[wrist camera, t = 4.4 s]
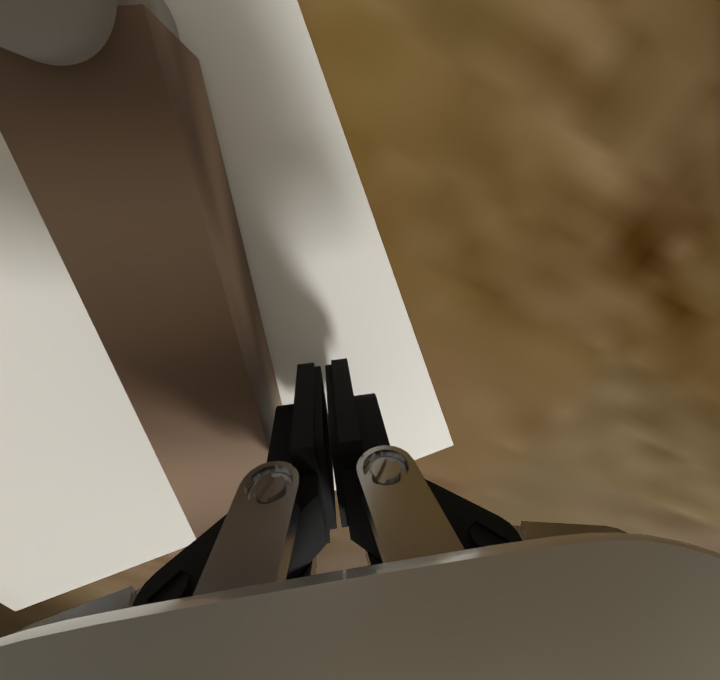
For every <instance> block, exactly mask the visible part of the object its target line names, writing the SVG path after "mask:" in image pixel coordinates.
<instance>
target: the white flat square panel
mask: <svg viewBox="0 0 720 680" xmlns="http://www.w3.org/2000/svg"><path fill="white" fill-rule="evenodd" d="M163 1H164V2H165V4H166V5H167V7H168V8H169V10H170V12H171V14H172V16H173V19H174V21H175V23H176V26H177V30H178V33H179V38H180V41H181V42H182V43H183V44H184V45H185V46H186V47H187V48H188V49H189V50H190V51H191V52H192V53H193V54H194V55H195V56H196V57H197V58H198V59H199V62H200V66H201V71H202V75H203V79H204V83H205V87H206V91H207V95H208V100H209V104H210V108H211V112H212V116H213V120H214V124H215V129H216V133H217V137H218V141H219V145H220V149H221V153H222V158H223V162H224V166H225V170H226V174H227V178H228V182H229V187H230V191H231V195H232V199H233V203H234V207H235V211H236V216H237V220H238V224H239V228H240V232H241V236H242V240H243V245H244V249H245V253H246V257H247V261H248V265H249V270H250V274H251V278H252V282H253V286H254V290H255V294H256V299H257V303H258V307H259V311H260V315H261V319H262V323H263V328H264V332H265V336H266V340H267V344H268V348H269V352H270V357H271V361H272V365H273V369H274V373H275V377H276V381H277V386H278V390H279V394H280V398H281V402H282V405H289V404H294V395H295V384H296V373H297V364H304V363H313V362H314V365H315V366H321V370H322V377H323V384H324V391H325V398H326V404H327V389H326V372H325V365H331V360H336V359H344V358H347V361H348V366H349V372H350V377H351V383H352V388H353V394H354V396H356V395H364V394H371V393H375V394H376V397H377V401H378V404H379V408H380V411H381V415H382V419H383V422H384V426H385V429H386V433H387V436H388V440H389V443H390V446H395V447H398V448H401V449H403V450H405V451H406V452H408V453H409V454H410V456H411V457H412V458H413V459H414V460H416V459H418V458H421V457H424V456H426V455H429V454H432V453H434V452H437V451H440V450H442V449H445V448H447V447H450V446H453V442H452V439H451V437H450V434H449V431H448V428H447V425H446V422H445V420H444V417H443V414H442V411H441V408H440V405H439V402H438V400H437V397H436V394H435V391H434V388H433V385H432V383H431V380H430V377H429V374H428V371H427V368H426V366H425V363H424V360H423V357H422V354H421V351H420V348H419V346H418V343H417V340H416V337H415V334H414V331H413V329H412V326H411V323H410V320H409V317H408V314H407V312H406V309H405V306H404V303H403V300H402V297H401V294H400V292H399V289H398V286H397V283H396V280H395V277H394V275H393V272H392V269H391V266H390V263H389V260H388V258H387V255H386V252H385V249H384V246H383V243H382V240H381V238H380V235H379V232H378V229H377V226H376V223H375V221H374V218H373V215H372V212H371V209H370V206H369V204H368V201H367V198H366V195H365V192H364V189H363V186H362V184H361V181H360V178H359V175H358V172H357V169H356V167H355V164H354V161H353V158H352V155H351V152H350V150H349V147H348V144H347V141H346V138H345V135H344V132H343V130H342V127H341V124H340V121H339V118H338V115H337V113H336V110H335V107H334V104H333V101H332V98H331V96H330V93H329V90H328V87H327V84H326V81H325V78H324V76H323V73H322V70H321V67H320V64H319V61H318V59H317V56H316V53H315V50H314V47H313V44H312V42H311V39H310V36H309V33H308V30H307V27H306V24H305V22H304V19H303V16H302V13H301V10H300V7H299V5H298V2H297V0H163ZM327 411H328V407H327ZM333 476H334V470H333ZM334 490H336V484H335V477H334ZM195 540H196V537H195V535H194V533H193V531H192V529H191V527H190V525H189V523H188V521H187V519H186V516H185V514H184V512H183V510H182V508H181V506H180V504H179V502H178V500H177V498H176V496H175V494H174V491H173V489H172V487H171V485H170V483H169V481H168V479H167V477H166V475H165V473H164V471H163V469H162V467H161V464H160V462H159V460H158V458H157V456H156V454H155V452H154V450H153V448H152V446H151V444H150V442H149V439H148V437H147V435H146V433H145V431H144V429H143V427H142V425H141V423H140V421H139V419H138V417H137V415H136V412H135V410H134V408H133V406H132V404H131V402H130V400H129V398H128V396H127V394H126V392H125V390H124V387H123V385H122V383H121V381H120V379H119V377H118V375H117V373H116V371H115V369H114V367H113V365H112V363H111V360H110V358H109V356H108V354H107V352H106V350H105V348H104V346H103V344H102V342H101V340H100V338H99V335H98V333H97V331H96V329H95V327H94V325H93V323H92V321H91V319H90V317H89V315H88V313H87V311H86V308H85V306H84V304H83V302H82V300H81V298H80V296H79V294H78V292H77V290H76V288H75V286H74V283H73V281H72V279H71V277H70V275H69V273H68V271H67V269H66V267H65V265H64V263H63V261H62V259H61V256H60V254H59V252H58V250H57V248H56V246H55V244H54V242H53V240H52V238H51V236H50V234H49V231H48V229H47V227H46V225H45V223H44V221H43V219H42V217H41V215H40V213H39V211H38V209H37V206H36V204H35V202H34V200H33V198H32V196H31V194H30V192H29V190H28V188H27V186H26V184H25V182H24V179H23V177H22V175H21V173H20V171H19V169H18V167H17V165H16V163H15V161H14V159H13V157H12V154H11V152H10V150H9V148H8V146H7V144H6V142H5V140H4V138H3V136H2V134H1V132H0V603H2V604H3V605H5V606H7V607H8V608H10V609H12V610H14V611H18V610H20V609H23V608H26V607H28V606H31V605H34V604H36V603H39V602H42V601H44V600H47V599H49V598H52V597H55V596H57V595H60V594H63V593H65V592H68V591H71V590H73V589H76V588H78V587H81V586H84V585H86V584H89V583H92V582H94V581H97V580H100V579H102V578H105V577H107V576H110V575H113V574H115V573H118V572H121V571H123V570H126V569H129V568H131V567H134V566H136V565H139V564H142V563H144V562H147V561H150V560H152V559H155V558H158V557H160V556H163V555H165V554H168V553H171V552H173V551H176V550H179V549H181V548H184V547H187V546H189V545H190V544H191V543H192V542H193V541H195Z"/></svg>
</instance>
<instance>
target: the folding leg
mask: <svg viewBox="0 0 720 680" xmlns="http://www.w3.org/2000/svg"><path fill="white" fill-rule="evenodd" d="M0 132H1V134H2V136H3V138H4V140H5V142H6V144H7V146H8V148H9V150H10V152H11V154H12V157H13V159H14V161H15V163H16V165H17V167H18V169H19V171H20V173H21V175H22V177H23V179H24V182H25V184H26V186H27V188H28V190H29V192H30V194H31V196H32V198H33V200H34V202H35V204H36V206H37V209H38V211H39V213H40V215H41V217H42V219H43V221H44V223H45V225H46V227H47V229H48V231H49V234H50V236H51V238H52V240H53V242H54V244H55V246H56V248H57V250H58V252H59V254H60V256H61V259H62V261H63V263H64V265H65V267H66V269H67V271H68V273H69V275H70V277H71V279H72V281H73V283H74V286H75V288H76V290H77V292H78V294H79V296H80V298H81V300H82V302H83V304H84V306H85V308H86V311H87V313H88V315H89V317H90V319H91V321H92V323H93V325H94V327H95V329H96V331H97V333H98V335H99V338H100V340H101V342H102V344H103V346H104V348H105V350H106V352H107V354H108V356H109V358H110V360H111V363H112V365H113V367H114V369H115V371H116V373H117V375H118V377H119V379H120V381H121V383H122V385H123V387H124V390H125V392H126V394H127V396H128V398H129V400H130V402H131V404H132V406H133V408H134V410H135V412H136V415H137V417H138V419H139V421H140V423H141V425H142V427H143V429H144V431H145V433H146V435H147V437H148V439H149V442H150V444H151V446H152V448H153V450H154V452H155V454H156V456H157V458H158V460H159V462H160V464H161V467H162V469H163V471H164V473H165V475H166V477H167V479H168V481H169V483H170V485H171V487H172V489H173V491H174V494H175V496H176V498H177V500H178V502H179V504H180V506H181V508H182V510H183V512H184V514H185V516H186V519H187V521H188V523H189V525H190V527H191V529H192V531H193V533H194V535H195V537H196V539H197V538H198V537H199V536H201V535H202V534H203V533H204V532H205V531H207V530H208V529H209V528H210V527H211V526H213V525H214V524H215V523H216V522H218V521H219V520H220V519H221V518H222V517H224V516H225V515H226V514H227V513H228V511H229V508H230V506H231V504H232V501H233V499H234V496H235V494H236V492H237V489H238V487H239V485H240V483H241V481H242V480H243V478H244V477H245V476H246V475H247V474H248V473H249V472H250V471H251V470H252V469H254V468H256V467H257V466H259V465H261V464H264V463H267V458H268V452H269V446H270V440H271V434H272V428H273V422H274V416H275V410H276V407H277V406H281V405H282V402H281V398H280V394H279V390H278V386H277V381H276V377H275V373H274V369H273V365H272V361H271V357H270V352H269V348H268V344H267V340H266V336H265V332H264V328H263V323H262V319H261V315H260V311H259V307H258V303H257V299H256V294H255V290H254V286H253V282H252V278H251V274H250V270H249V265H248V261H247V257H246V253H245V249H244V245H243V240H242V236H241V232H240V228H239V224H238V220H237V216H236V211H235V207H234V203H233V199H232V195H231V191H230V187H229V182H228V178H227V174H226V170H225V166H224V162H223V158H222V153H221V149H220V145H219V141H218V137H217V133H216V129H215V124H214V120H213V116H212V112H211V108H210V104H209V100H208V95H207V91H206V87H205V83H204V79H203V75H202V71H201V66H200V62H199V59H198V58H197V57H196V56H195V55H194V54H193V53H192V52H191V51H190V50H189V49H188V48H187V47H186V46H185V45H184V44H183V43H182V42H181V41H180V38H179V33H178V30H177V26H176V23H175V21H174V19H173V16H172V14H171V12H170V10H169V8H168V7H167V5H166V4H165V2H164V1H163V0H0Z"/></svg>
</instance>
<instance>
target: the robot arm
mask: <svg viewBox="0 0 720 680" xmlns="http://www.w3.org/2000/svg"><path fill="white" fill-rule="evenodd" d="M325 372H326V389H327V404H326V398H325V391H324V384H323V377H322V370H321V366H315V365H314V362H313V363H304V364H297V373H296V384H295V395H294V404H289V405H281V406H277V407H276V410H275V416H274V422H273V428H272V434H271V440H270V446H269V452H268V458H267V463H264V464H261V465H259V466H257V467H256V468H254V469H252V470H251V471H250V472H249V473H248V474H247V475H246V476H245V477H244V478H243V480H242V481H241V483H240V485H239V487H238V489H237V492H236V494H235V496H234V499H233V501H232V504H231V506H230V508H229V511H228V513H227V514H226V515H225V516H224V517H222V518H221V519H220V520H219V521H218V522H216V523H215V524H214V525H213V526H211V527H210V528H209V529H208V530H207V531H205V532H204V533H203V534H202V535H201V536H199V537H198V538H197V539H196V540H195V541H193V542H192V543H191V544H190V545H189V546H187V547H186V548H185V549H184V550H183V551H181V552H180V553H179V554H178V555H177V556H175V557H174V558H173V559H172V560H170V561H169V562H168V563H167V564H166V565H164V566H163V567H162V568H161V569H160V570H158V571H157V572H156V573H155V574H154V575H153V576H152V577H151V578H150V579H149V580H148V581H147V582H146V583H145V584H144V586H143V587H142V588H140V589H138V590H135V589H134V587H133V586H131V587H128V588H125V589H123V590H120V591H117V592H115V593H112V594H109V595H107V596H104V597H101V598H99V599H96V600H93V601H91V602H88V603H85V604H83V605H80V606H77V607H75V608H72V609H70V610H67V611H64V612H62V613H59V614H56V615H54V616H51V617H48V618H46V619H43V620H40V621H38V622H35V623H32V624H30V625H28V626H26V627H24V628H23V629H21V630H19V631H17V632H15V633H14V634H11V635H8V636H5V637H1V638H0V680H720V554H719V553H717V552H714V551H711V550H708V549H705V548H702V547H699V546H695V545H692V544H688V543H685V542H681V541H676V540H671V539H666V538H661V537H656V536H650V535H642V534H629V533H626V532H624V531H622V530H620V529H618V528H613V527H608V526H598V525H581V524H563V523H546V522H529V521H521V525H520V526H513V525H511V524H510V523H509V522H507V521H506V520H504V519H503V518H501V517H500V516H498V515H496V514H494V513H492V512H490V511H488V510H486V509H484V508H482V507H480V506H478V505H476V504H474V503H472V502H470V501H468V500H466V499H464V498H462V497H460V496H458V495H456V494H454V493H452V492H450V491H448V490H446V489H444V488H442V487H440V486H438V485H436V484H434V483H432V482H430V481H428V480H426V479H424V477H423V475H422V474H421V472H420V470H419V468H418V466H417V465H416V463H415V461H414V459H413V458H412V457H411V456H410V454H409V453H408V452H406V451H405V450H403V449H401V448H398V447H395V446H390V443H389V440H388V436H387V433H386V429H385V426H384V422H383V419H382V415H381V411H380V408H379V404H378V401H377V397H376V394H375V393H371V394H364V395H356V396H354V394H353V388H352V383H351V377H350V372H349V366H348V361H347V358H344V359H336V360H331V365H325ZM327 407H328V411H327ZM333 470H334V476H333ZM334 477H335V484H336V490H337V497H338V504H339V510H340V517H341V524H342V527H348V526H349V530H350V537H351V540H353V541H354V542H355V543H357V544H358V545H359V546H361V547H362V548H364V549H365V551H366V558H367V562H368V565H369V566H364V567H358V568H353V569H347V570H341V571H335V572H329V573H323V574H317V575H316V568H317V558H316V555H317V554H318V553H319V552H320V551H321V550H322V549H323V547H324V546H325V545H326V544H327V543H330V529H336V528H337V524H336V508H335V492H334Z"/></svg>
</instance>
